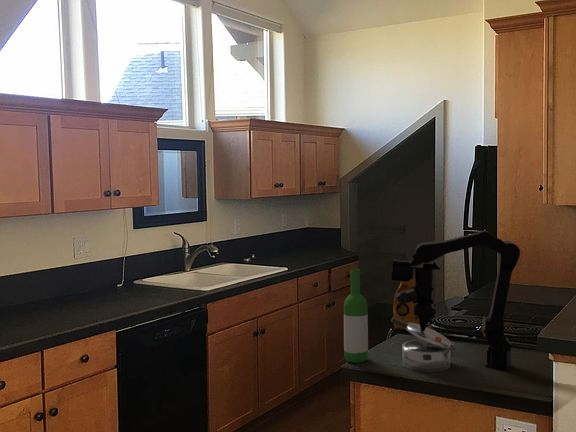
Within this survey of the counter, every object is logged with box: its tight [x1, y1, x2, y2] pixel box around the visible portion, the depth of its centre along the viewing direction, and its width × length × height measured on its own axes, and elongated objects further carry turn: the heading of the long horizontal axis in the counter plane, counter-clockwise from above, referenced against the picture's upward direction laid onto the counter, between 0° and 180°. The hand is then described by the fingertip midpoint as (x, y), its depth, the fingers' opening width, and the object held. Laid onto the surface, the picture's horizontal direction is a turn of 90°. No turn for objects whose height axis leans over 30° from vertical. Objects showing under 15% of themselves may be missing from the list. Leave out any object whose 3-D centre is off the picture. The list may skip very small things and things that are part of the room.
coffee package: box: [393, 276, 420, 330], centre depth 254 cm, size 10×12×22 cm
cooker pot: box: [401, 339, 451, 373], centre depth 208 cm, size 15×19×6 cm
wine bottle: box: [343, 268, 369, 364], centre depth 213 cm, size 8×8×30 cm
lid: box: [390, 316, 456, 351], centre depth 207 cm, size 21×15×2 cm
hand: (422, 331), depth 207 cm, fingers closed, pressing on lid
